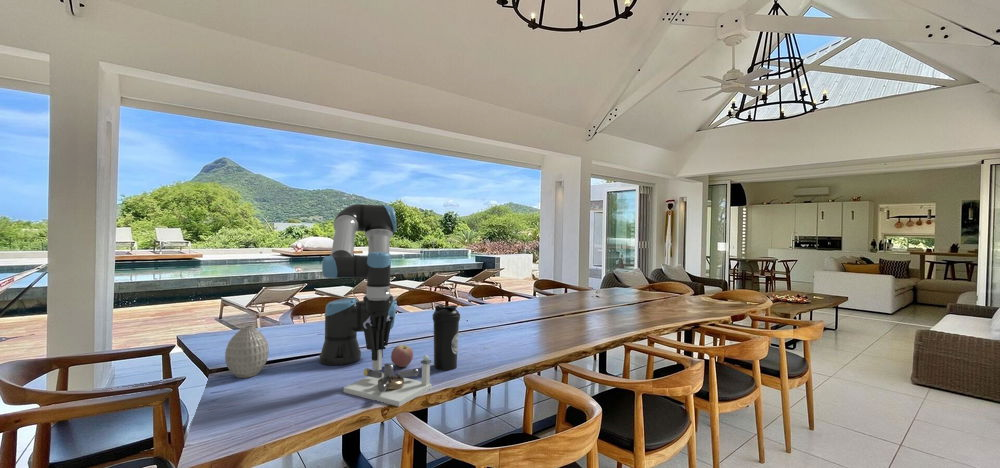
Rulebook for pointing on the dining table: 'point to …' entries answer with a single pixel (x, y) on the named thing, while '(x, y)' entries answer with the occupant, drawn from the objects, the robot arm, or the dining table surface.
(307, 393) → the dining table surface
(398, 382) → the capstan
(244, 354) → the vase
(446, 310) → the water bottle
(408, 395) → the stand base
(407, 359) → the apple
